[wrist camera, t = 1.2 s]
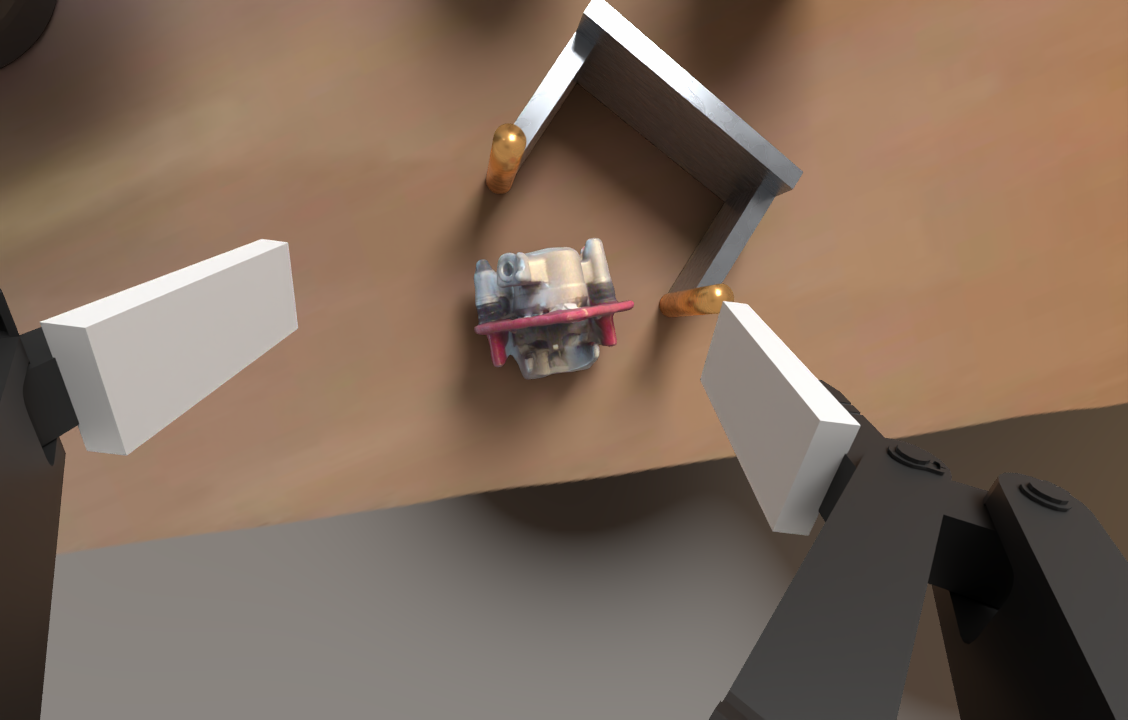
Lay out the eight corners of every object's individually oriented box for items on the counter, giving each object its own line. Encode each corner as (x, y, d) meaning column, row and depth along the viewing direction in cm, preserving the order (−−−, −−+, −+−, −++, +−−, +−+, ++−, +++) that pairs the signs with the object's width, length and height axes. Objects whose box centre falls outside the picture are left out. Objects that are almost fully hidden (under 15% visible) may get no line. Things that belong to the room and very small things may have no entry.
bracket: (481, 183, 37) (487, 143, 29) (569, 52, 38) (597, -20, 30) (673, 321, 41) (723, 318, 33) (749, 200, 42) (815, 169, 34)
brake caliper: (490, 422, 36) (477, 321, 26) (466, 309, 42) (448, 190, 32) (634, 391, 38) (673, 287, 28) (593, 288, 44) (612, 171, 34)
